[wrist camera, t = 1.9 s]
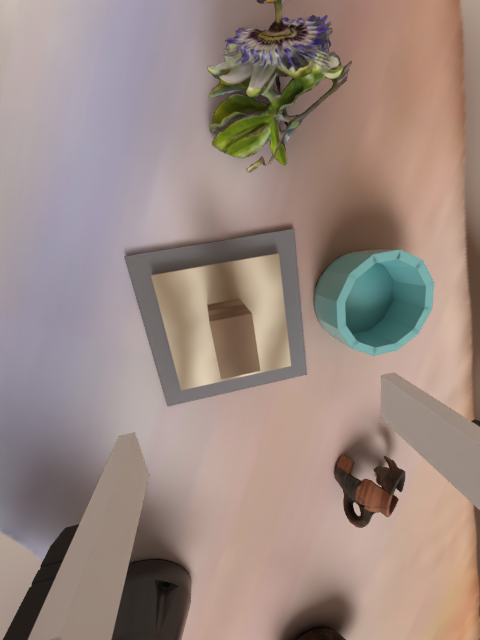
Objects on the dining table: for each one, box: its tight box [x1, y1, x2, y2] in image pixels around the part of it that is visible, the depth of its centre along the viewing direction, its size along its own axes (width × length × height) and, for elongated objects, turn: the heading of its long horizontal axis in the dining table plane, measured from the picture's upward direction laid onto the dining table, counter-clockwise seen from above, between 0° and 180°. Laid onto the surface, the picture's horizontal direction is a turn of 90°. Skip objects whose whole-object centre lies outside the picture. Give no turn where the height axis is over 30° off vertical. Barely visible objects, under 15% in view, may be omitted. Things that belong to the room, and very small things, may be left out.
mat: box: [124, 229, 307, 406], centre depth 32 cm, size 20×20×1 cm
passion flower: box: [207, 0, 352, 172], centre depth 23 cm, size 11×11×12 cm
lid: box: [151, 253, 291, 390], centre depth 27 cm, size 15×15×8 cm
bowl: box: [314, 249, 434, 356], centre depth 31 cm, size 12×12×6 cm
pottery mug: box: [335, 454, 405, 528], centre depth 41 cm, size 12×10×8 cm
